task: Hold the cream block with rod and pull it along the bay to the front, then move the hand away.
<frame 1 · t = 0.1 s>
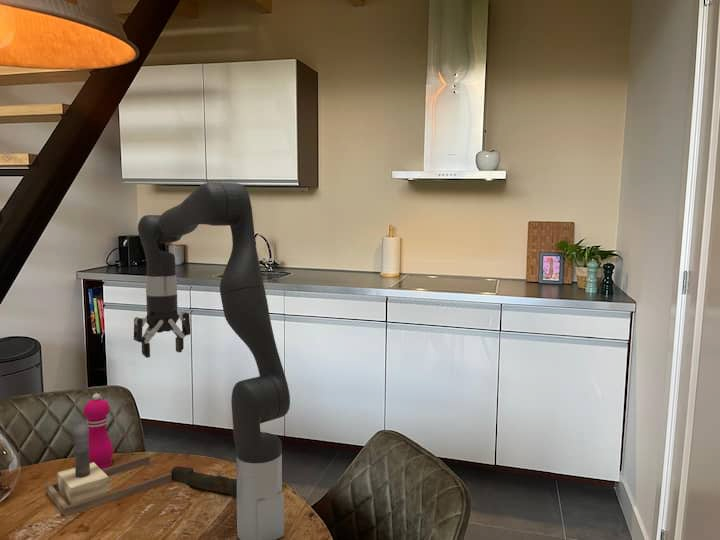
hand: (163, 354, 149), 29 cm above the table, tool pointing down, fingers open, 8 cm apart
hand tool: (202, 491, 138), on the table
pepper mill: (99, 469, 148), on the table
bay: (110, 491, 136), on the table
cream block with rod: (82, 459, 131), point 10 cm above the table, slide at 0.0 cm
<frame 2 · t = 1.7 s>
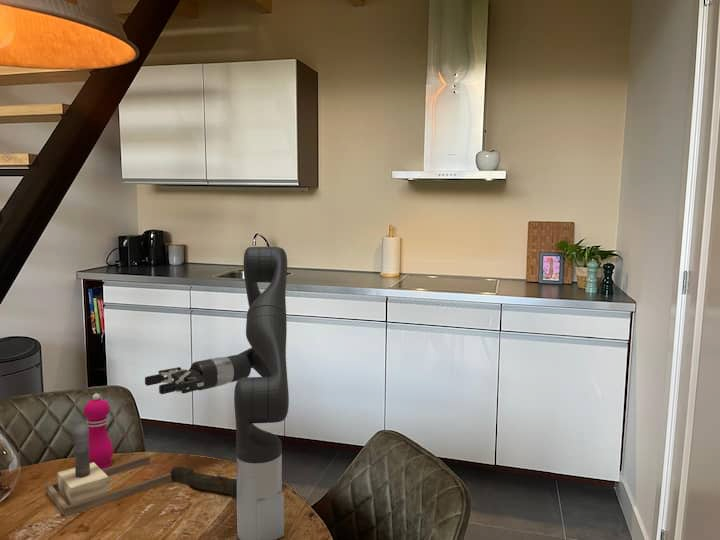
hand: (152, 385, 141), 24 cm above the table, tool horizontal, fingers open, 8 cm apart
nothing on the table moved.
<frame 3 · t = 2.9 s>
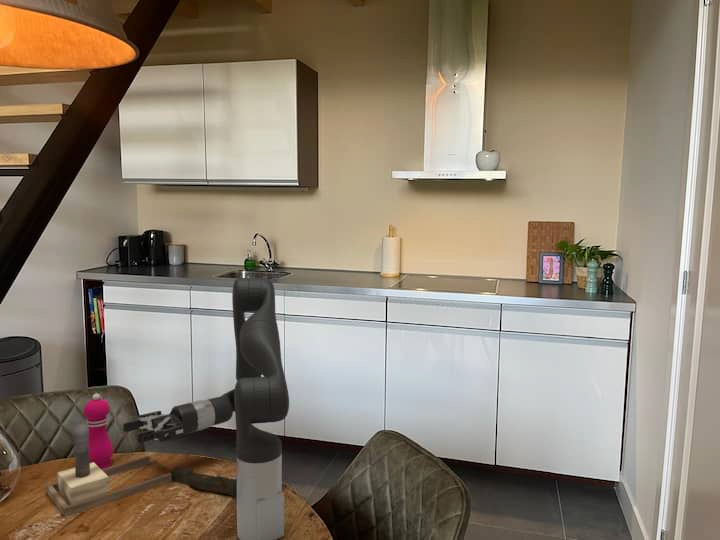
hand: (130, 433, 138), 13 cm above the table, tool horizontal, fingers open, 8 cm apart
nothing on the table moved.
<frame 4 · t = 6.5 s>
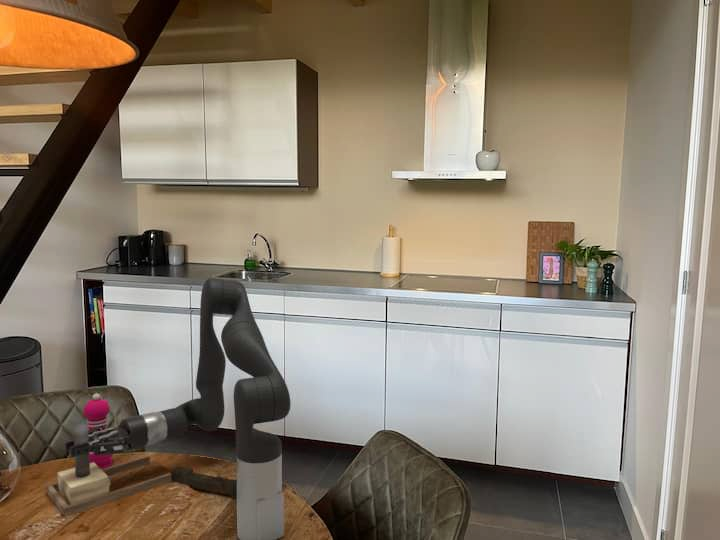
hand: (68, 449, 129), 13 cm above the table, tool horizontal, fingers closed on cream block with rod, 3 cm apart
cream block with rod: (82, 459, 131), point 10 cm above the table, slide at 0.0 cm, touching gripper
everything else where it was.
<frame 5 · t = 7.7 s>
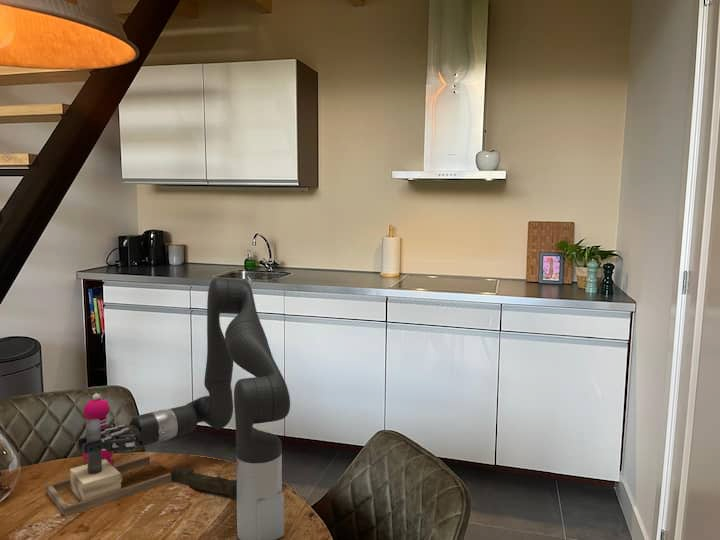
hand: (80, 446, 130), 13 cm above the table, tool horizontal, fingers closed on cream block with rod, 3 cm apart
cream block with rod: (95, 456, 133), point 10 cm above the table, slide at 2.7 cm, touching gripper
everything else where it was.
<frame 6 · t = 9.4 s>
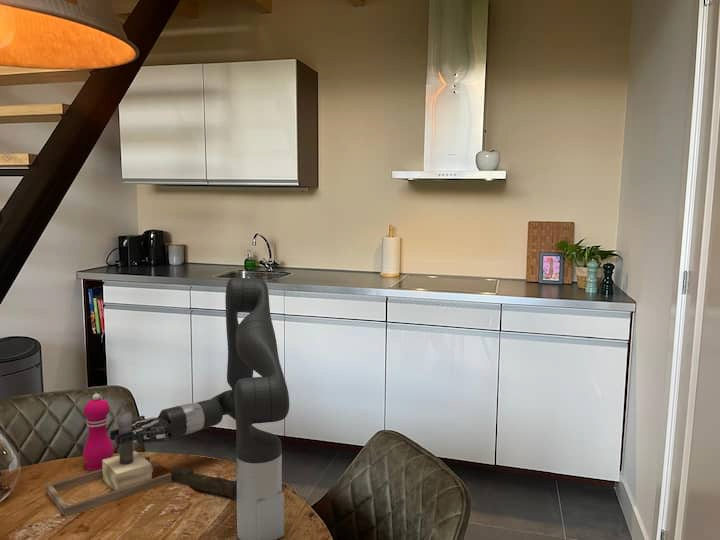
hand: (113, 438, 135), 13 cm above the table, tool horizontal, fingers closed on cream block with rod, 3 cm apart
cream block with rod: (126, 447, 138), point 10 cm above the table, slide at 9.9 cm, touching gripper
everything else where it was.
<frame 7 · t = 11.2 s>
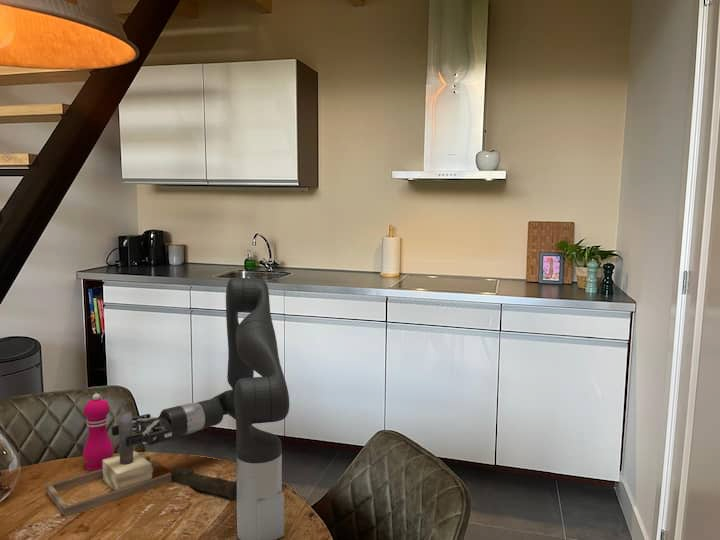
hand: (118, 436, 136), 13 cm above the table, tool horizontal, fingers open, 8 cm apart
cream block with rod: (126, 447, 138), point 10 cm above the table, slide at 10.0 cm
everything else where it was.
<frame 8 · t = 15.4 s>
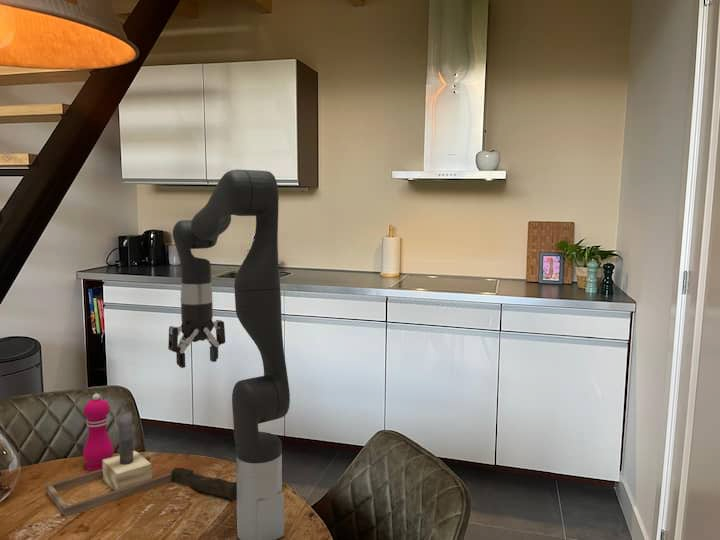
hand: (198, 364, 144), 28 cm above the table, tool pointing down, fingers open, 8 cm apart
at the end: cream block with rod slide at 10.0 cm; the gripper is holding nothing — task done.
